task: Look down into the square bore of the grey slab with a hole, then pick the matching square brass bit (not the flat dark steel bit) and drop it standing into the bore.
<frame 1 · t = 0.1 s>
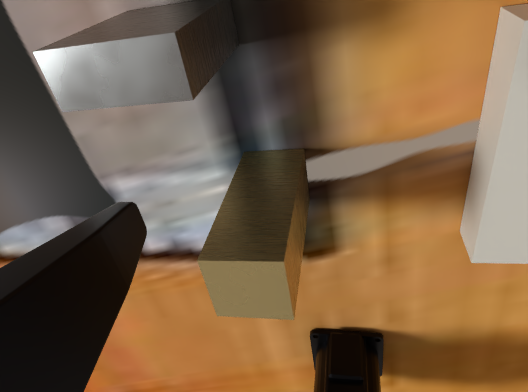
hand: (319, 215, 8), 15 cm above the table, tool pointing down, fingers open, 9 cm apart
square bit: (277, 176, 26), on the table
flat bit: (183, 27, 21), on the table
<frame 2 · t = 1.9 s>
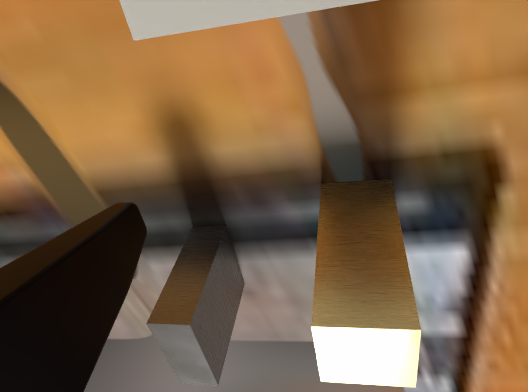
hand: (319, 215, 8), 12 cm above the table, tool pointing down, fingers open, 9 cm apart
square bit: (356, 208, 23), on the table
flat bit: (219, 256, 28), on the table
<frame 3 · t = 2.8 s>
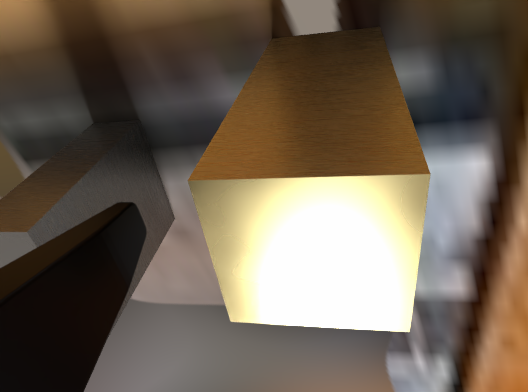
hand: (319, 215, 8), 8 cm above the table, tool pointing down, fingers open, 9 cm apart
square bit: (326, 84, 15), on the table
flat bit: (137, 174, 20), on the table
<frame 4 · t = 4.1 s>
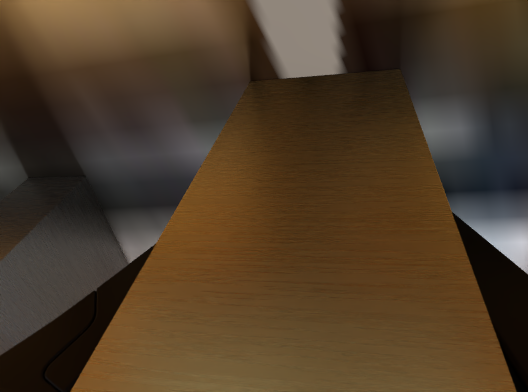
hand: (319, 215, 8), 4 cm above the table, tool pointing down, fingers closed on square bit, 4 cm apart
square bit: (325, 141, 11), on the table, touching gripper
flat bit: (89, 237, 16), on the table
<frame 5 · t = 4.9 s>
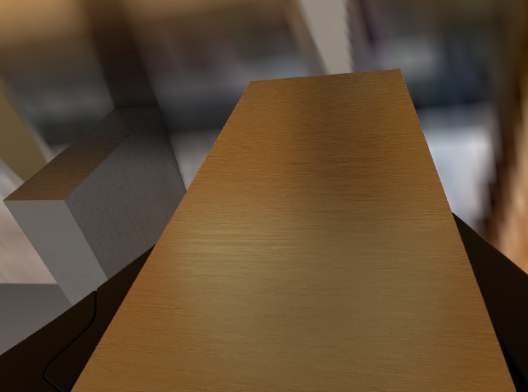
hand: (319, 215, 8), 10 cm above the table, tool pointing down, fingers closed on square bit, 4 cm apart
square bit: (325, 141, 11), point 6 cm above the table, touching gripper
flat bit: (154, 158, 21), on the table
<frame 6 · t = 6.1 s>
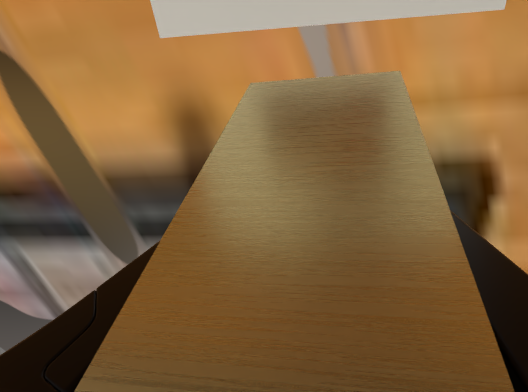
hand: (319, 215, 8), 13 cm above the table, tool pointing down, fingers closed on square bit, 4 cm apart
square bit: (325, 143, 11), point 10 cm above the table, touching gripper
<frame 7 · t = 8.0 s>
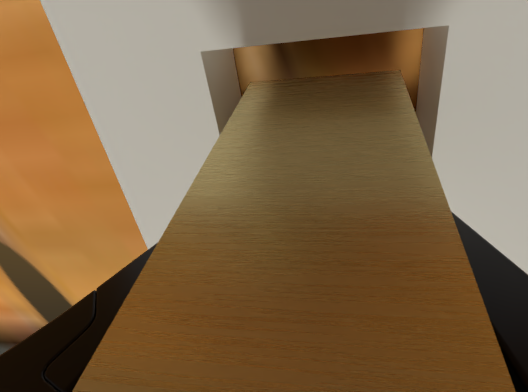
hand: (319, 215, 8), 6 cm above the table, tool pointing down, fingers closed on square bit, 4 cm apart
grey slab with hole: (326, 106, 13), on the table
square bit: (325, 142, 11), point 3 cm above the table, touching gripper
when the fingers open (4 cm above the table, at t = 8.7 s): square bit stays where it is, resting in grey slab with hole.
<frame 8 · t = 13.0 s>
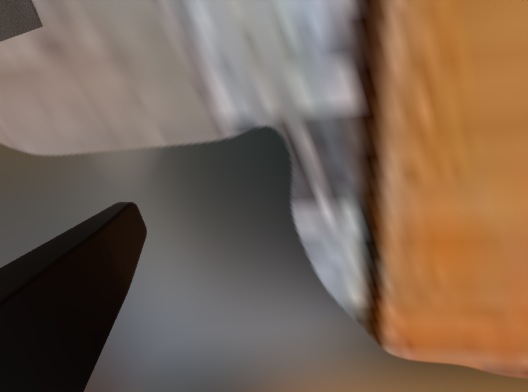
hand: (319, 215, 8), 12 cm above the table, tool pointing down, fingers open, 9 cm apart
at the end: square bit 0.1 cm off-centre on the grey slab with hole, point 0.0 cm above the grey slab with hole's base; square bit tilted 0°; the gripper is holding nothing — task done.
